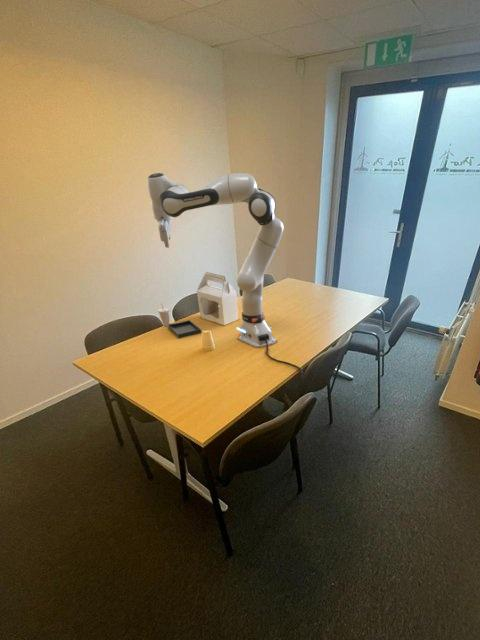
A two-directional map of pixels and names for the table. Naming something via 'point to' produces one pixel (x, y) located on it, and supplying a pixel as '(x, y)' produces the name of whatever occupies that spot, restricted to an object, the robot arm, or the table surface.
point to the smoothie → (164, 315)
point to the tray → (184, 329)
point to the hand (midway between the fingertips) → (168, 242)
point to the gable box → (217, 300)
